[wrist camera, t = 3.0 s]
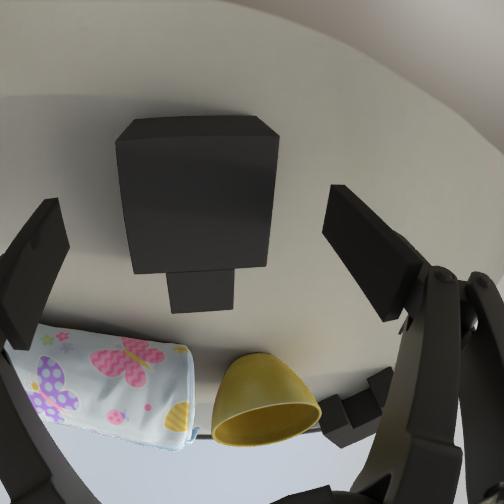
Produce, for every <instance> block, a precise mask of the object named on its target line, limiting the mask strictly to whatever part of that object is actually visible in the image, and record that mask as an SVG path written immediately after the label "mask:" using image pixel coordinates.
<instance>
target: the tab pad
mask: <svg viewBox="0 0 504 504" xmlns="http://www.w3.org/2000/svg"><path fill="white" fill-rule="evenodd" d="M279 139H280V136H279V135H278V134H277V133H276V132H274V131H273V130H272V129H271V128H270V127H269V126H267V125H266V124H265V123H264V122H263V121H261V120H260V119H259V118H258V117H257V116H179V117H161V118H147V119H135V120H133V122H132V123H131V124H130V125H129V126H128V127H127V128H126V129H125V131H124V132H123V133H122V134H121V135H120V136H119V138H118V139H117V140H116V141H115V144H116V156H117V166H118V175H119V184H120V192H121V200H122V207H123V214H124V221H125V227H126V233H127V239H128V245H129V250H130V256H131V261H132V266H133V271H134V274H152V273H166V278H167V285H168V293H169V299H170V306H171V313H172V314H175V313H192V312H206V311H220V310H232V309H233V301H234V272H235V268H251V267H265V266H266V264H267V255H268V246H269V237H270V227H271V218H272V209H273V199H274V189H275V179H276V170H277V159H278V149H279Z"/></svg>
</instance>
